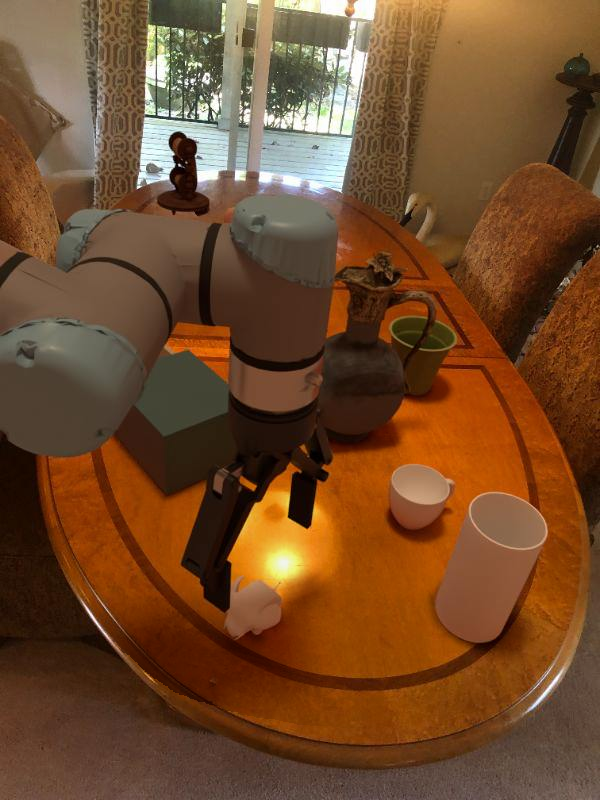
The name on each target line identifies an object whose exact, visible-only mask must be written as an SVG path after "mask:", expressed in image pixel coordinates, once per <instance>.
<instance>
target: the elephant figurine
mask: <svg viewBox="0 0 600 800" xmlns="http://www.w3.org/2000/svg"><path fill="white" fill-rule="evenodd" d="M244 578H245V575H240V576H238V577H237V578H236V579H235V580H234V581H233V582H231V592H230V608H229V609H228V610H227V615H226V617H225V619H224V626H223V630H225V628H226V630H227V632H228V634H229V635H230V636H231V637H232V638H234V641H236V640H239V639H240V638H241V637H243V636H245V634H246V633H248V632H251V633H252V634H254V635H256V636H257V635H260V634H261V633H262V632H263V630H267V629H270V628H272V627H274V626H276V625H277V624H278V623H279V622H280V620H281V618H282V609H281V606H282V602H283V599H282V596H281V595H280V594H279V593H278V592H276V591H277V588H278V587H279V585H281V583H282V582H281V581H279V582H278V584H277V585H276V586H274V587H273V588H272V587H270V585H268V584H267V583H266V582H264V581H263V580H262V579H256V580H254V581H252V582H250V583H248V584H247V585H246V586H244V587H243V588H241V589H240V588H239V587H240V584H241V581H242V580H243V579H244ZM239 589H240V590H239ZM235 637H236V638H235Z"/></svg>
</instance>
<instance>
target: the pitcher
mask: <svg viewBox="0 0 600 800" xmlns="http://www.w3.org/2000/svg"><path fill="white" fill-rule="evenodd" d="M372 255H373V257H371V258H367V260H366V261H365V262H364V264H366V265H367V266H361V265H360V266H358V265H346V266H343V267H342V268H340V269H339V270H337V271H335V280H334V283H337V282H341V283H343V284H344V285H345V286H346V289H347V290H348V292H349V301H348V304H347V307H346V313H347V319H346V325H345V326H346V327H345V331H341V332H337V333H334V334H332V335H330V336H328V337H326V342H325V349H324V354H323V363H322V370H321V376H322V378H323V381H322V383H321V385H320V387H319V393H318V406H319V407H321V408H323V409H324V420H323V425H324V428H325V432H326V435H327V438H328V439H330V440H332V441H334V442H339V443H343V444H350V443H351V444H353V443H358V442H361V441H362V440H364V439H366V438H367V437H368V435H369V433H370V432H372V431H375V430H377V429H379V428H382V427H383V426H385V425H387V424H388V423H389V422H390V421H391V420H392V419H393V417H394V416H395V415H396V413H398V410H399V409H400V407H402V404H403V400H404V398H405V394H404V392H405V385H406V388H407V390H408V391H409V393H410V394H409V395H412V394H411V390H410V387H409V385H408V382H407V380H406V367H407V365H408V364H409V362H410V359H411V358H412V356H413V355H415V353H416V352H417V351H418V350H419V348H420V347H421V346H422V344H423V343H424V342H425V340H426V339H427V337H428V335H429V334H430V333H431V331H432V328H433V326H434V324H435V320H437V315H438V308H437V304H436V301H435V298H434V297H433V296H432V295H431V294H430V293H428V292H427V291H424V290H415V289H414V290H413V289H411V290H408V291H405V292H403V293H399V292H398V293H396V292H395V291H394V289H395V288H397V287H398V286H399V285H400V284H401V283H402V282H403V279H404V274H403V273H402V272H404V273H405V272H406V273H407V272H408V269H409V268H407V267H406V268H401V267H396V264H395V263H394V262H393V261H392V258H393V257H394V256H393V254H391V253H388V252H384V251H378V252H377V253H376V255H375V253H372ZM407 302H420V303H422V304H425V306H426V309H427V318H428V320H427V323H426V325H425V327H424V329H423V334H422V336H421V338H420V339H419V341H418V342H417V343H416V344H415V346H414V347H413V349H412V350H411V352H410V353H409V354H408V355H407V357H406V359H405V362H404V365H402V362H401V360H400V358H399V356H398V354H397V353H396V351H395V350H394V349H393V348H392V344H389V343H388V342H387V341H386V340H385V339H383V338H381V337H380V332H381V326H382V322H383V321H384V320H385V317H386V314H387V311H388V310H389V309H390V308H392V307H396V306H400V305H403V304H405V303H407Z"/></svg>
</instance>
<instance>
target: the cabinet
mask: <svg viewBox="0 0 600 800" xmlns="http://www.w3.org/2000/svg"><path fill="white" fill-rule="evenodd" d="M228 394H229V384H228V381H226V380H225V379H223V378H222V377H221V376H220V375H219V374H218V373H217V372H215V371H214V370H213V369H212V368H210V367H209V366H208V365H207V364H206V363H205V362H203V361H202V359H200V358H199V357H198V356H197V355H196V354H195V353H193V352H192V351H191V350H190V349H185V350H181V351H179V352H175V354H172V355H168V356H165V357H162V358H159V359H157V361H156V363H155V365H154V367H153V368H152V370H151V372H150V374H149V376H148V378H147V380H146V387H145V390H144V392H143V394H142V396H141V398H140V399H139V401H138V402H137V403H135V404H134V405H133V406H132V407H131V409H130V410H129V412H128V413H127V415H126V417H125V418H124V420H123V421H122V423H121V424H120V426H119V427H118V429H117V430H116V431H115V433H114V434H113V435H114V436H115V437H116V438H117V440H118V441H119V442H120V443H121V445H122V446H123V447H124V448H125V449H126V450H127V451H128V453H129V454H130V455H131V456H132V457H133V458H134V460H135V461H136V462H137V463H138V465H139V466H140V467H141V468H142V470H144V471H145V473H146V474H147V476H149V477H150V478H151V479H152V481H153V482H154V484H156V486H157V487H158V488H159V490H161V492H162V493H163V494H164V495H165V496H166V497H167V496H169V495H172V494H174V493H176V492H178V491H181V490H183V489H185V488H187V487H190V486H192V485H194V484H196V483H199V482H201V481H203V480H205V479H207V473H208V471H209V469H210V467H211V466H213V465H217V466H219V467H221V468H225V467H226V466H228V465H229V464H231V463H232V459H233V456H234V453H235V450H236V443H235V441H234V438H233V436H232V434H231V432H230V430H229V427H228Z"/></svg>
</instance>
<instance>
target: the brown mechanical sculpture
mask: <svg viewBox="0 0 600 800" xmlns="http://www.w3.org/2000/svg"><path fill="white" fill-rule="evenodd" d="M168 147H169V149H170V150H171V152H173V154H174V155H173V156H172V161H173V163H174V167H173V168H171V170H170V171H169V173H168V174H169V175H168V178H169V182H170V184H171V185H173V187H174V189H171V190H166V191H164V192H162V193H160V194H158V196H157V197H156V204H157V205H158V206H159V207H160V208H162V209H165V210H168V211H171V214H172V216H175V215H176V213H177V212H178V213H193V212H200V211H203V212H204V213H207V211H208V208H209V207H210V205H211V203H210V198H208V196H206V195H204V194H203V193H201V192H199V191H197V189H198V185H199V184H198V183H199V182H198V181H199V180H198V167H197V160H196V155H197V153H198V143H197V142H196V140H194V139H193V138H191V137H188V136H187V135H186V134H185V133H184V132H182V131H174V132H173V133H171V134H170V136H169V138H168Z"/></svg>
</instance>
